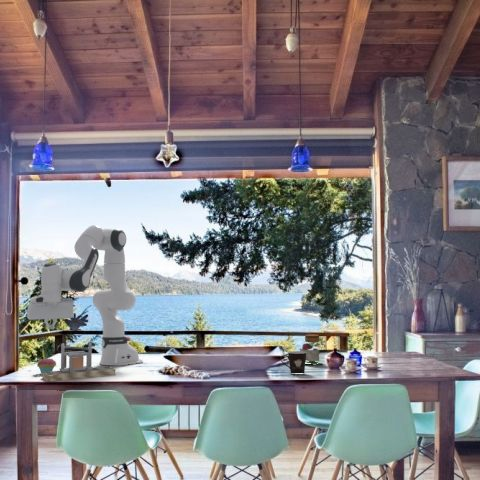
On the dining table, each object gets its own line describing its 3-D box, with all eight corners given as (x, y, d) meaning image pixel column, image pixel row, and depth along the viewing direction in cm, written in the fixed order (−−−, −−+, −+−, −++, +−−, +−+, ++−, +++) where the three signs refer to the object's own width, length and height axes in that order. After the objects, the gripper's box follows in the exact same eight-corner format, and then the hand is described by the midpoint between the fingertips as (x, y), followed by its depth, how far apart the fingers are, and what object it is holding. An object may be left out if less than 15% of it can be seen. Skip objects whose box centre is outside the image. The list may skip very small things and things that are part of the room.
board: (107, 371, 290) (107, 365, 290) (115, 374, 281) (115, 368, 281) (42, 378, 273) (42, 371, 273) (48, 381, 264) (48, 374, 265)
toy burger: (302, 361, 321) (302, 333, 322) (325, 362, 316) (325, 334, 317) (296, 364, 310) (296, 335, 311) (320, 366, 305) (320, 336, 306)
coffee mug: (309, 372, 285) (308, 351, 285) (303, 375, 277) (302, 353, 277) (286, 371, 289) (285, 350, 290) (279, 374, 282) (279, 352, 282)
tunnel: (82, 369, 283) (82, 350, 283) (89, 371, 275) (89, 353, 275) (63, 370, 278) (63, 352, 278) (69, 373, 270) (69, 354, 270)
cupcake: (38, 375, 280) (39, 349, 281) (35, 372, 287) (36, 347, 288) (57, 374, 284) (57, 348, 284) (54, 371, 291) (54, 346, 292)
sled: (89, 367, 282) (89, 341, 283) (93, 368, 278) (93, 342, 279) (59, 370, 275) (59, 343, 275) (62, 371, 270) (62, 344, 271)
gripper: (71, 297, 280) (71, 327, 279) (26, 298, 269) (25, 329, 268) (75, 298, 275) (75, 328, 274) (29, 299, 264) (29, 330, 263)
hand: (50, 329), depth 271 cm, fingers closed
